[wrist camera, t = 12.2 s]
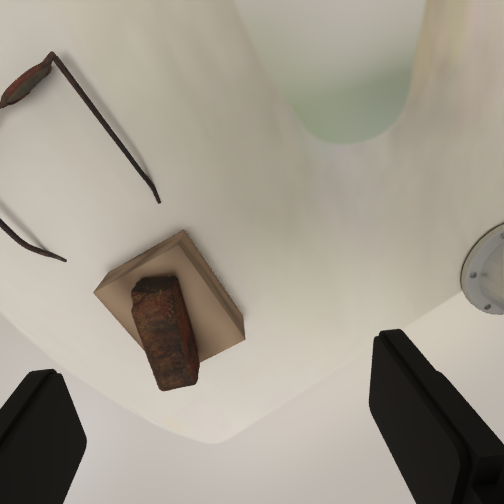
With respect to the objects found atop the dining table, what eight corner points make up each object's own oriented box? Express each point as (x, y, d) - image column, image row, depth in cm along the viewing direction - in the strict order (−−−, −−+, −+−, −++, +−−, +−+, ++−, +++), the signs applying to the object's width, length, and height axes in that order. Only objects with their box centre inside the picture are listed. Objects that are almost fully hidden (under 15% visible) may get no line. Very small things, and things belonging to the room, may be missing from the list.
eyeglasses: (67, 57, 29) (37, 45, 24) (169, 197, 34) (161, 209, 30) (-52, 147, 31) (-101, 152, 26) (62, 266, 36) (38, 288, 32)
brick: (201, 354, 36) (198, 386, 32) (166, 361, 36) (158, 394, 32) (177, 269, 32) (169, 292, 28) (137, 277, 32) (124, 301, 28)
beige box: (184, 228, 36) (178, 244, 31) (242, 314, 40) (245, 339, 36) (109, 270, 37) (93, 292, 32) (175, 349, 42) (168, 378, 37)
